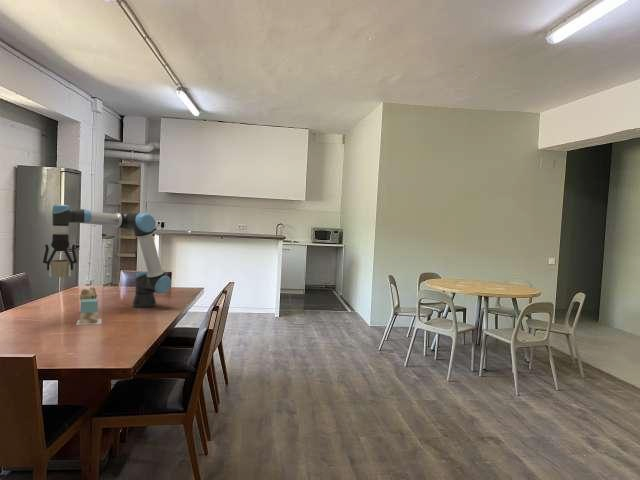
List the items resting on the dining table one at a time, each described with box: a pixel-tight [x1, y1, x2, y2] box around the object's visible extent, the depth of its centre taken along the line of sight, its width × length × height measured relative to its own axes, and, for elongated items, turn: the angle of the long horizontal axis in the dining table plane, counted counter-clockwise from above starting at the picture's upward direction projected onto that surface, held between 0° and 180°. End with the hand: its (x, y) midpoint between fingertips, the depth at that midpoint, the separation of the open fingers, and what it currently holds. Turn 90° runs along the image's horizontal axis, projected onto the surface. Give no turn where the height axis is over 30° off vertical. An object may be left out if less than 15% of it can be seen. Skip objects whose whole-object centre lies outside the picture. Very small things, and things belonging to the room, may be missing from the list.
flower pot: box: [50, 259, 70, 278], centre depth 237 cm, size 9×9×9 cm
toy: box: [79, 286, 98, 301], centre depth 272 cm, size 10×8×15 cm
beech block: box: [80, 309, 99, 325], centre depth 245 cm, size 8×8×6 cm
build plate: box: [76, 318, 102, 326], centre depth 245 cm, size 12×12×1 cm
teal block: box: [80, 298, 99, 314], centre depth 245 cm, size 8×8×6 cm
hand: (60, 276), depth 237 cm, fingers closed on flower pot, 8 cm apart
